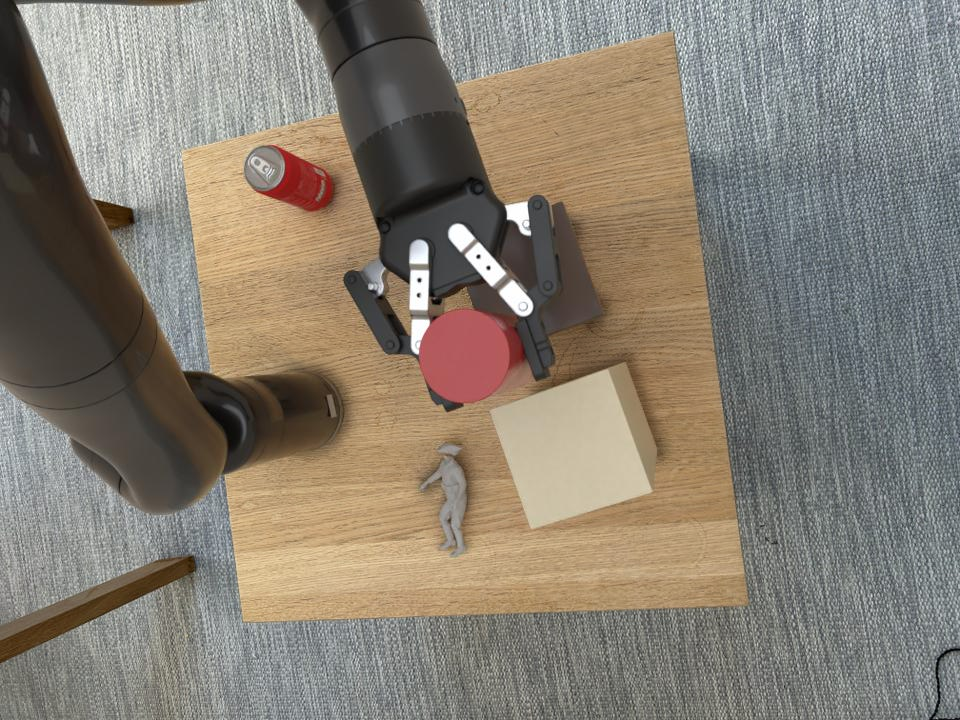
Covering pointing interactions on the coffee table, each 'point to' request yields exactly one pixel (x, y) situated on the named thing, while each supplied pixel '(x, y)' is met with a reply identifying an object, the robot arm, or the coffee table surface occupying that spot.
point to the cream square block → (578, 446)
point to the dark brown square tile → (518, 255)
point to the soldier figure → (451, 497)
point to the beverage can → (287, 178)
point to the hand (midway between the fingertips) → (498, 393)
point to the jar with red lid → (473, 355)
